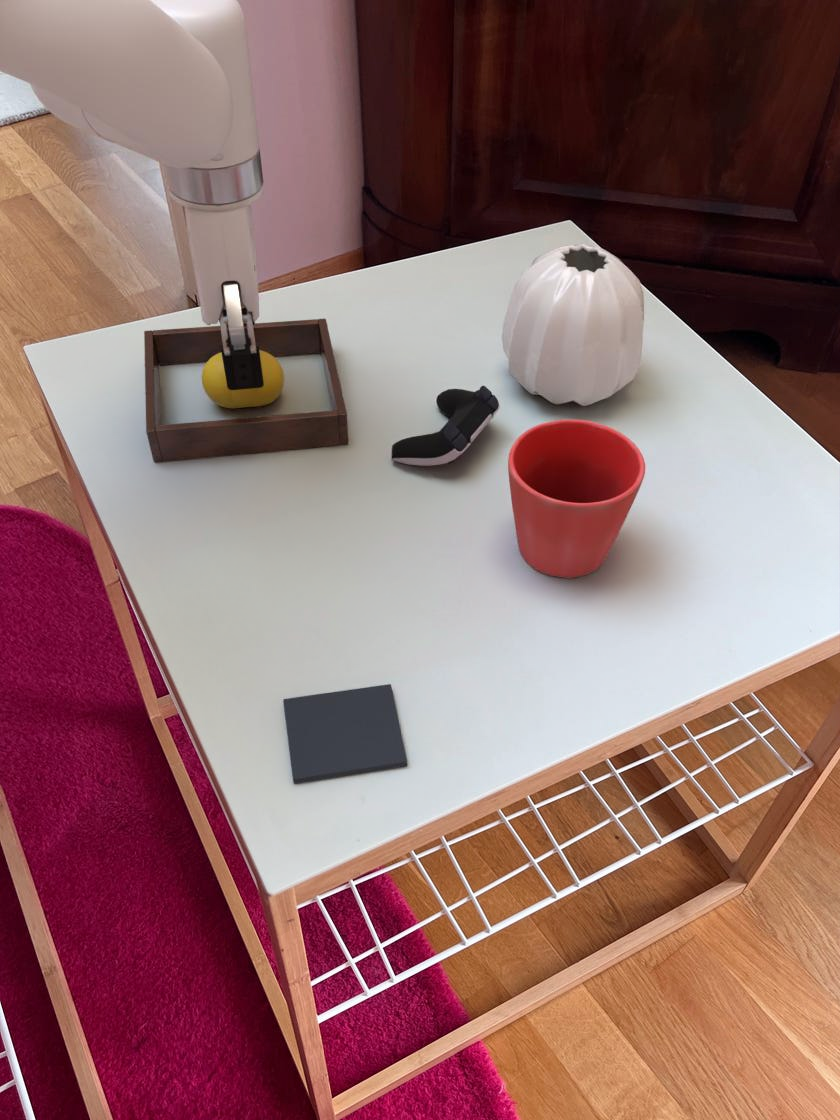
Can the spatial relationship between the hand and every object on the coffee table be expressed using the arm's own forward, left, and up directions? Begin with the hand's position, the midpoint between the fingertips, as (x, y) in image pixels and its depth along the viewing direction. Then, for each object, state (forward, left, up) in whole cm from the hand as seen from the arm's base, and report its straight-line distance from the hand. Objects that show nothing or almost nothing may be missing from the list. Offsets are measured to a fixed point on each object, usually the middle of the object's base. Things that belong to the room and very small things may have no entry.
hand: (241, 355), depth 91 cm
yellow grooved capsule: (0, 0, -5) cm, 5 cm away
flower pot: (+25, -24, -5) cm, 35 cm away
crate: (0, 0, -5) cm, 5 cm away
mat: (+4, -40, -5) cm, 41 cm away
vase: (+32, -1, -5) cm, 32 cm away
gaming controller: (+18, -9, -5) cm, 21 cm away
